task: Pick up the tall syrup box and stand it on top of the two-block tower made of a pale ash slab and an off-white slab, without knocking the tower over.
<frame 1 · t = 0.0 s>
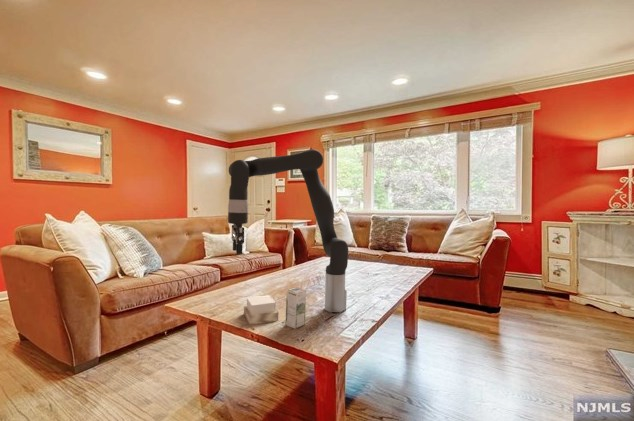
hand: (237, 252, 112), 29 cm above the table, tool pointing down, fingers open, 8 cm apart
syrup box: (295, 325, 114), on the table
ash base block: (260, 318, 121), on the table, touching off-white top block
off-white top block: (260, 309, 121), point 3 cm above the table, touching ash base block
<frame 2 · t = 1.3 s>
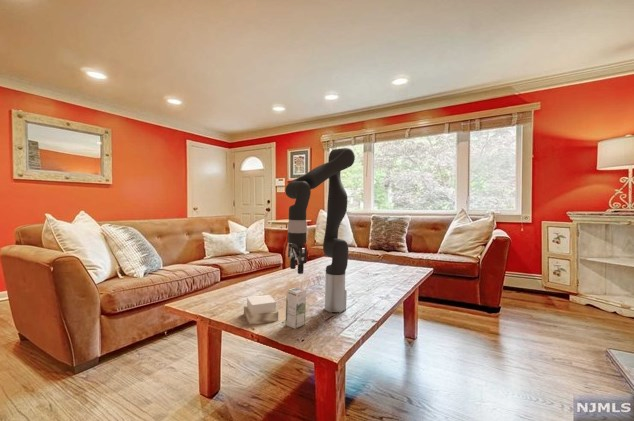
hand: (296, 271, 114), 22 cm above the table, tool pointing down, fingers open, 8 cm apart
nothing on the table moved.
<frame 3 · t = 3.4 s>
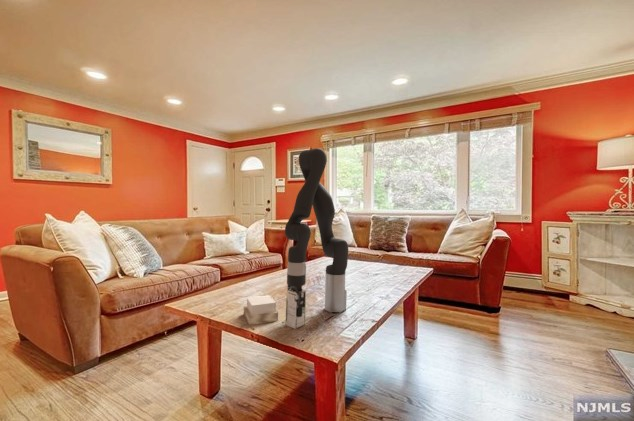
hand: (295, 312, 114), 5 cm above the table, tool pointing down, fingers closed on syrup box, 7 cm apart
syrup box: (295, 325, 114), on the table, touching gripper
everything else where it was.
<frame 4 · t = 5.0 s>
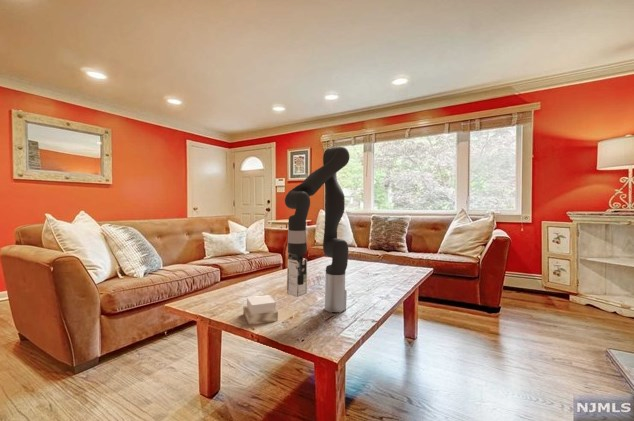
hand: (296, 281, 114), 18 cm above the table, tool pointing down, fingers closed on syrup box, 7 cm apart
syrup box: (297, 294, 114), point 12 cm above the table, touching gripper
everything else where it was.
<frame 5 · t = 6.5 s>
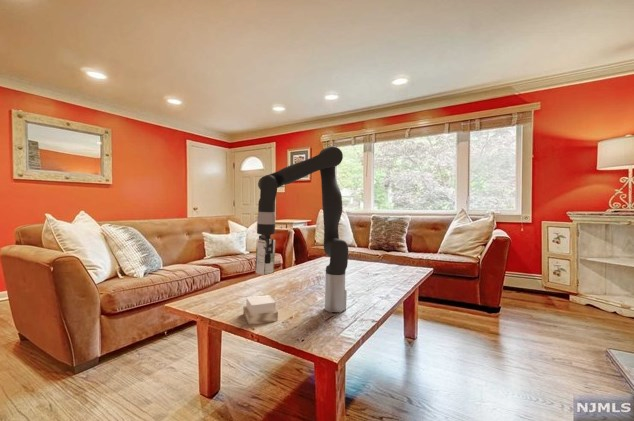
hand: (264, 261, 120), 24 cm above the table, tool pointing down, fingers closed on syrup box, 7 cm apart
syrup box: (264, 273, 120), point 19 cm above the table, touching gripper
everything else where it was.
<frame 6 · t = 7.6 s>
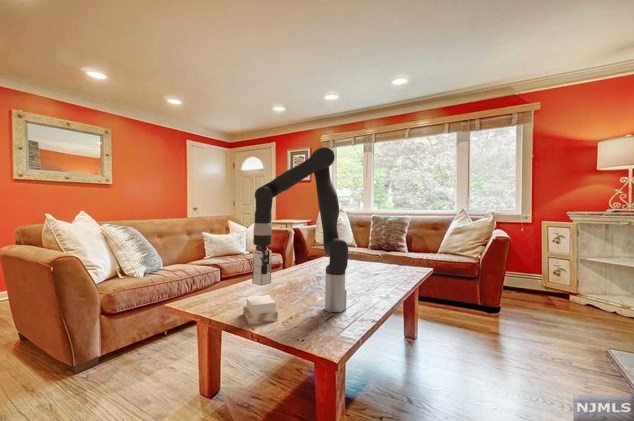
hand: (261, 271, 121), 20 cm above the table, tool pointing down, fingers closed on syrup box, 7 cm apart
syrup box: (261, 284, 121), point 14 cm above the table, touching gripper
everything else where it was.
when the fingers open (15 cm above the table, at t = 9.1 s): syrup box drops 2 cm, resting on off-white top block.
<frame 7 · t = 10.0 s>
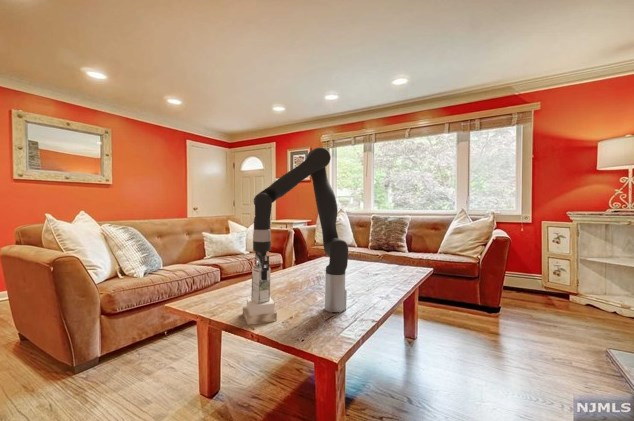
hand: (261, 277, 121), 17 cm above the table, tool pointing down, fingers open, 8 cm apart
syrup box: (260, 301, 120), point 7 cm above the table, touching gripper, off-white top block
off-white top block: (260, 309, 121), point 3 cm above the table, touching ash base block, syrup box
everything else where it was.
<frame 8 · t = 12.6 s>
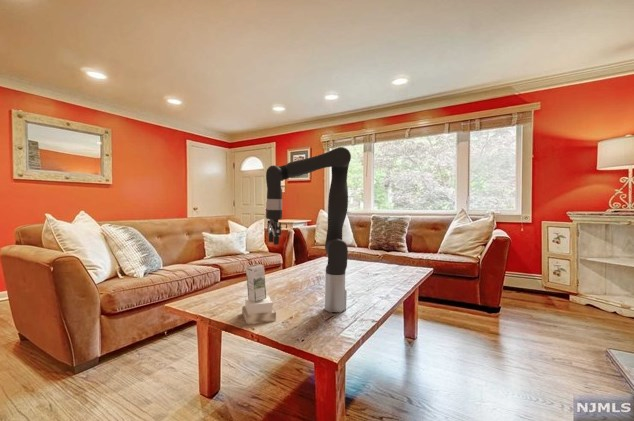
hand: (273, 243, 133), 30 cm above the table, tool pointing down, fingers open, 8 cm apart
syrup box: (257, 299, 121), point 8 cm above the table, touching off-white top block
at the end: syrup box 0.6 cm off-centre on the off-white top block, point 4.1 cm above the off-white top block's base; syrup box tilted 5°; off-white top block moved 1.2 cm from its start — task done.
